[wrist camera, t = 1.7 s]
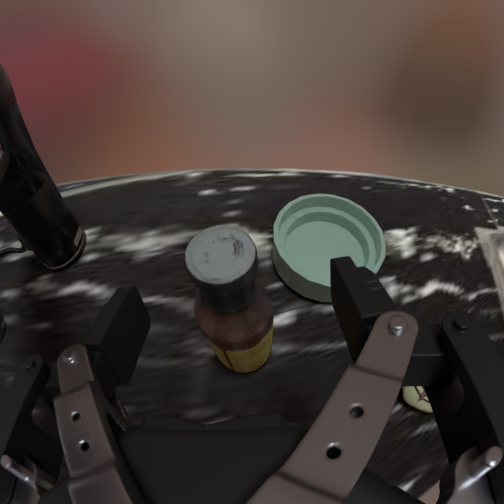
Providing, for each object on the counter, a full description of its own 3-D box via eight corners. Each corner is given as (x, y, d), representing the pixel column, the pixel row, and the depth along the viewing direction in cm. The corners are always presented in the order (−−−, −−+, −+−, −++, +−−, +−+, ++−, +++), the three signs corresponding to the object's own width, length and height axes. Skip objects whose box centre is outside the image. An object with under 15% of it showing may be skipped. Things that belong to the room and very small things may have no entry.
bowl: (256, 285, 36) (256, 264, 32) (288, 206, 44) (291, 183, 40) (365, 318, 33) (379, 301, 29) (376, 232, 41) (387, 211, 37)
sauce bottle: (278, 335, 33) (302, 227, 16) (259, 382, 29) (267, 324, 13) (227, 317, 34) (201, 199, 18) (206, 362, 31) (149, 279, 14)
